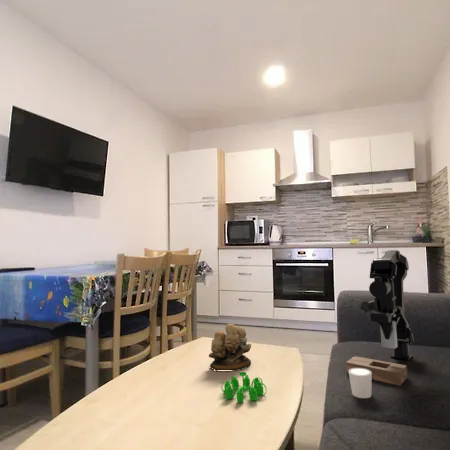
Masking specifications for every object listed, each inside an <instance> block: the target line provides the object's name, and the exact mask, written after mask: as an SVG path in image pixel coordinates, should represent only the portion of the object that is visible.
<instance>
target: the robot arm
mask: <svg viewBox="0 0 450 450" xmlns="http://www.w3.org/2000/svg"><path fill="white" fill-rule="evenodd" d="M409 267H410V266H409V261H408V259H407V257H406V256H405V255H403V254H402V253H401V252H400V250H397V249H396V250H385V254H383V256H381V258H380V257H379V258H374V259H372V261H371V262H370V271H369V279H373V281H372V282H371V283H370V284H369V287H368V290H369V293H370V294H371V295H372V297H374V300H372V301H368V300H365V301H361V303H360V310H361V311H363V313H364V314H367V313H369V312H371V313H370V314H369V315H368V317H369V322H374V323H377V324H379V327H380V326H381V328H382V331H383V333H384V336H385V339H389V338H390V334H391V331H392V327H393V324H394V321H396V332H397V344H398V347H397V348H395V349H393V348H392V352H393V353H392V354H391V355H390V358H391V359H392V358H393V359H399V360H405V361H409V360H410V359H411V358H412V357H413V354H411V353H410V348H409V345H411V344H414V342H415V341H414V340H415V339H414V335H413V332H412V330H411V328H410V324H409V322H408V320H406V317H405V306H404V304H405V302H404V297H405V296H404V281H405V279H406V278H407V276H408V271H410V270H409V269H410V268H409ZM372 311H373V312H372Z"/></svg>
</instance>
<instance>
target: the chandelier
mask: <svg viewBox="0 0 450 450" xmlns="http://www.w3.org/2000/svg"><path fill="white" fill-rule="evenodd" d="M238 373H239V374H238V375H239V376H240V377H241V378H242V385H240V383H239V380H238V377H237V376H234V375H233V376H232V377H231V378H230V380H225V381H223V382H222V383H221V391H222V393H223V398H224V399H226V400H227V401H229V400H230V399H231V400H232V399H234V397H235V396H236V401H237V403H239V404H241V403H242V402H244V400H245V397H244V391H247V392H248V395H249V400H250V401H254V402H257V401H258V396H265V395H266V394H267V386H266V385H265V383H263V379H262V378H260V377H259V376H256V377H255V378H253V379H252V381H251V379H250V377H249V375H248V374H247V372H245V371H241V372H238ZM223 385H224V388H223ZM264 388H265V392H264ZM228 399H229V400H228Z"/></svg>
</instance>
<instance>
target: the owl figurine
mask: <svg viewBox="0 0 450 450" xmlns="http://www.w3.org/2000/svg"><path fill="white" fill-rule="evenodd" d="M225 332H226V333H225ZM225 332H223V331H221V330H218V331H216V332H215V333H214V337H213V339H211V345H210V347H211V348H210V349H211V350H210V351H211V352H210V353H209V354H208V357H209V358H211V359H214V360H213V361H211V363H210V364H209V368H210V367H211V368H213V369H215V370H235V371H237V370H236V369H240V370H243V369H242V368H244V369H246V368H248V367H249V366H251V364H252V360H251V359H249V358H248V357H247V356H246V355H244V354H246V353H248V352H250V351H251V349H252V343H247V342H248V337H247V332H246V329H245V327H243V326H236V325H235V324H234V323H228V324H226V326H225ZM245 367H246V368H245Z"/></svg>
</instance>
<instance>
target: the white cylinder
mask: <svg viewBox="0 0 450 450" xmlns="http://www.w3.org/2000/svg"><path fill="white" fill-rule="evenodd" d="M348 376H349V383H350V389H351V394H352V396H353V397H355V398H359V399H369V398H371V397H372V385H373V383H372V380H373V379H372V372H371V371H370V370H368V369H364V368H352V369H350V370H349V374H348Z"/></svg>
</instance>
